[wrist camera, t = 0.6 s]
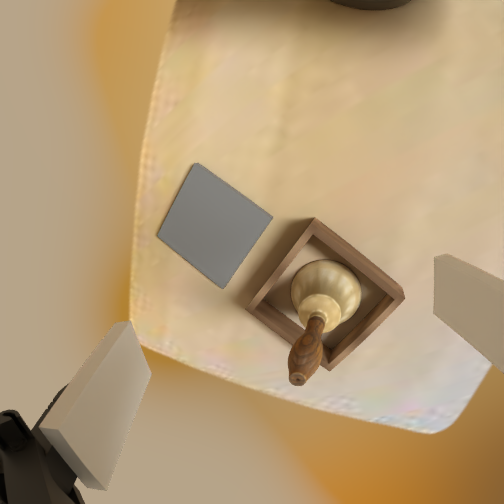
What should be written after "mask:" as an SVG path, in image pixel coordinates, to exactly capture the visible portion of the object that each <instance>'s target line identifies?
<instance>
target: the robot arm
mask: <svg viewBox="0 0 504 504" xmlns="http://www.w3.org/2000/svg"><path fill="white" fill-rule="evenodd" d="M331 1H333V2H336V3H338V4H341V5H344V6H348V7H352V8H358V9H365V10H384V9H391V8H395V7H399V6H401V5H404V4H406V3H408V2H410V1H411V0H331ZM433 314H435V315H436V316H437V317H438V318H440V319H441V320H442V321H443V322H444V323H446V324H447V325H448V326H449V327H450V328H452V329H453V330H454V331H455V332H456V333H458V334H459V335H460V336H461V337H462V338H464V339H465V340H466V341H467V342H468V343H469V344H471V345H472V346H473V347H474V348H475V349H476V350H478V351H479V352H480V353H481V354H482V355H483V356H484V357H486V358H487V359H488V360H489V361H490V362H491V363H492V364H493V365H495V366H496V367H497V368H498V369H499V370H500V371H501V372H502V373H504V281H503V280H501V279H499V278H497V277H495V276H493V275H491V274H489V273H487V272H485V271H483V270H481V269H479V268H477V267H475V266H473V265H471V264H469V263H466V262H464V261H462V260H460V259H458V258H456V257H453V256H451V255H449V254H444V255H440V256H436V257H434V310H433ZM151 375H152V373H151V371H150V369H149V366H148V364H147V361H146V359H145V357H144V354H143V352H142V349H141V347H140V344H139V341H138V339H137V336H136V334H135V331H134V328H133V326H132V323H131V321H124V322H118V323H115V324H114V325H113V326H112V328H111V329H110V330H109V331H108V333H107V334H106V336H105V337H104V338H103V339H102V340H101V342H100V343H99V344H98V346H97V347H96V348H95V350H94V351H93V352H92V353H91V355H90V356H89V358H88V359H87V360H86V361H85V363H84V364H83V365H82V367H81V368H80V369H79V371H78V372H77V373H76V375H75V376H74V378H73V379H72V380H71V382H70V383H69V384H67V385H66V386H65V387H64V388H63V389H61V390H60V391H59V392H58V393H57V395H56V396H55V398H54V399H53V402H51V403H50V405H49V406H48V409H46V410H45V412H44V413H43V414H42V416H41V417H40V419H39V420H38V421H37V423H36V424H35V426H34V427H33V429H32V430H30V429H29V428H28V426H27V425H26V423H25V422H24V421H23V419H22V417H21V416H20V414H19V413H18V412H17V411H15V410H6V411H2V412H1V413H0V504H85V502H84V500H83V498H82V496H81V494H80V491H79V490H78V489H77V487H76V486H75V485H74V483H75V481H76V478H77V477H78V478H79V479H80V480H81V482H82V483H83V484H84V485H85V486H86V487H87V488H92V489H98V490H105V491H107V489H108V486H109V483H110V480H111V478H112V474H113V472H114V469H115V467H116V464H117V461H118V459H119V456H120V453H121V451H122V448H123V445H124V443H125V440H126V437H127V434H128V432H129V430H130V427H131V425H132V422H133V419H134V417H135V414H136V412H137V409H138V407H139V404H140V402H141V399H142V397H143V394H144V392H145V389H146V387H147V385H148V382H149V380H150V377H151Z"/></svg>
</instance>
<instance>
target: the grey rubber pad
mask: <svg viewBox="0 0 504 504" xmlns="http://www.w3.org/2000/svg"><path fill="white" fill-rule="evenodd" d="M272 218H273V217H272V216H271V215H270V214H268V213H267V212H266V211H264V210H263V209H262V208H260V207H259V206H258V205H256V204H255V203H254V202H252V201H251V200H249V199H248V198H247V197H245V196H244V195H243V194H241V193H240V192H238V191H237V190H236V189H234V188H233V187H231V186H230V185H229V184H227V183H226V182H224V181H223V180H222V179H220V178H219V177H217V176H216V175H215V174H213V173H212V172H210V171H209V170H208V169H206V168H205V167H203V166H202V165H200V164H199V163H195V164H194V165H193V167H192V169H191V171H190V173H189V175H188V176H187V178H186V180H185V182H184V184H183V186H182V188H181V190H180V191H179V193H178V195H177V197H176V199H175V201H174V203H173V205H172V207H171V209H170V211H169V213H168V215H167V217H166V219H165V221H164V223H163V225H162V227H161V229H160V231H159V233H158V235H157V236H158V237H159V238H160V239H161V240H163V241H164V242H165V243H166V244H167V245H169V246H170V247H171V248H172V249H173V250H175V251H176V252H177V253H178V254H179V255H181V256H182V257H183V258H184V259H186V260H187V261H188V262H189V263H191V264H192V265H193V266H194V267H195V268H197V269H198V270H199V271H200V272H202V273H203V274H204V275H205V276H207V277H208V278H209V279H210V280H212V281H213V282H214V283H215V284H217V285H218V286H219V287H220V288H222V289H223V288H224V287H225V286H226V285H227V283H228V282H229V280H230V279H231V278H232V276H233V275H234V273H235V272H236V270H237V269H238V267H239V266H240V265H241V263H242V262H243V260H244V259H245V257H246V256H247V254H248V253H249V252H250V250H251V249H252V247H253V246H254V244H255V243H256V241H257V240H258V239H259V237H260V236H261V234H262V233H263V231H264V230H265V229H266V227H267V226H268V224H269V223H270V221H271V220H272Z"/></svg>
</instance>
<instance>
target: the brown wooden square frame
mask: <svg viewBox="0 0 504 504" xmlns="http://www.w3.org/2000/svg"><path fill="white" fill-rule="evenodd" d="M312 234H313V235H314V236H316V237H317V238H318V239H320V240H321V241H322V242H324V243H325V244H326V245H327V246H329V247H330V248H331V249H333V250H334V251H335V252H336V253H338V254H339V255H340V256H342V257H343V258H344V259H345V260H347V261H348V262H349V263H350V264H352V265H353V266H354V267H355V268H357V269H358V270H359V271H360V272H362V273H363V274H364V275H365V276H367V277H368V278H369V279H370V280H372V281H373V282H374V283H375V284H376V285H378V286H379V287H380V288H381V289H383V290H384V291H385V292H386V293H387V295H386V296H385V297H384V298H383V299H382V300H381V301H380V303H379V304H378V305H377V306H376V307H375V308H374V309H373V310H372V311H371V312H370V313H369V314H368V315H367V316H366V317H365V318H364V319H363V320H362V321H361V322H360V323H359V324H358V325H357V326H356V327H355V328H354V329H353V330H352V331H351V332H350V333H349V334H348V335H347V336H346V337H345V338H344V339H343V340H342V341H341V342H340V343H339V344H338V345H337V346H336V347H335V348H334V349H333V350H331V349H330V348H328V347H327V346H325V345H324V344H323V343H322V346H323V353H322V359H321V362H320V365H321V366H322V367H324V368H325V369H327V370H328V371H331V370H332V369H333V368H334V367H335V366H336V365H338V364H339V363H340V362H341V361H342V360H343V359H344V358H345V357H347V356H348V355H349V354H350V353H351V352H352V351H353V350H354V349H355V348H356V347H357V346H359V345H360V344H361V343H362V342H363V341H364V340H365V339H366V338H367V337H368V336H369V335H370V334H371V333H372V332H373V331H374V330H375V329H376V328H377V327H378V326H379V325H380V324H381V323H382V322H383V321H384V320H385V319H386V318H387V317H388V316H389V315H390V314H391V313H392V312H393V311H394V310H395V309H396V308H397V307H398V306H399V305H400V304H401V303H402V302H403V301H404V299H405V296H404V292H403V289H402V287H401V286H400V285H399V284H398V283H396V282H395V281H394V280H393V279H392V278H390V277H389V276H388V275H387V274H386V273H384V272H383V271H382V270H381V269H380V268H378V267H377V266H376V265H375V264H374V263H372V262H371V261H370V260H369V259H367V258H366V257H365V256H364V255H362V254H361V253H360V252H359V251H357V250H356V249H355V248H354V247H352V246H351V245H350V244H349V243H347V242H346V241H345V240H344V239H342V238H341V237H340V236H338V235H337V234H336V233H335V232H333V231H332V230H331V229H329V228H328V227H327V226H326V225H324V224H323V223H322V222H320V221H319V220H318V219H316V218H314V220H313V221H312V222H311V224H310V225H309V226H308V228H307V229H306V230H305V232H304V233H303V234H302V236H301V237H300V238H299V240H298V241H297V242H296V244H295V245H294V246H293V248H292V249H291V250H290V252H289V253H288V254H287V256H286V257H285V258H284V260H283V261H282V262H281V263H280V265H279V266H278V267H277V269H276V270H275V271H274V273H273V274H272V275H271V277H270V278H269V279H268V280H267V282H266V283H265V284H264V286H263V287H262V288H261V290H260V291H259V292H258V293H257V295H256V296H255V297H254V299H253V300H252V301H251V302H250V304H249V305H248V306H247V308H246V310H247V311H248V312H250V313H251V314H252V315H253V316H255V317H256V318H257V319H259V320H260V321H261V322H263V323H264V324H265V325H267V326H268V327H269V328H271V329H272V330H273V331H275V332H276V333H277V334H279V335H280V336H281V337H283V338H284V339H285V340H287V341H288V342H289V343H291V344H292V345H294V343H295V342H296V340H297V339H298V338H299V337H300V336H301V335H303V334H304V332H305V330H304V329H303V328H301V327H300V326H299V325H297V324H296V323H295V322H293V321H292V320H291V319H289V318H288V317H287V316H285V315H284V314H283V313H281V312H280V311H279V310H277V309H276V308H275V307H273V306H272V305H271V304H269V303H268V302H267V301H266V300H264V299H263V297H264V296H265V295H266V294H267V292H268V291H269V290H270V289H271V287H272V286H273V285H274V284H275V282H276V281H277V280H278V279H279V277H280V276H281V275H282V273H283V272H284V271H285V270H286V268H287V267H288V266H289V264H290V263H291V262H292V261H293V259H294V258H295V257H296V255H297V254H298V253H299V251H300V250H301V249H302V248H303V246H304V245H305V244H306V242H307V241H308V240H309V238H310V237H311V236H312Z"/></svg>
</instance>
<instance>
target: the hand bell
mask: <svg viewBox="0 0 504 504" xmlns="http://www.w3.org/2000/svg"><path fill="white" fill-rule="evenodd" d="M361 296H362V293H361V286H360V283H359V281H358V278H357V277H356V275H355V274H354V273H353V272H352V271H351V270H350V269H349V268H348V267H346V266H345V265H343V264H341V263H339V262H336V261H332V260H318V261H314V262H311V263H309V264H307V265H305V266H304V267H302V268H301V269H300V270H299V271H298V273H297V274H296V275H295V277H294V279H293V281H292V285H291V299H292V302H293V305H294V307H295V309H296V310H297V312H298V315H299V319H300V321H301V323H302V324H303V326H304V327H305V328H306V330H305V332H304V334H303V335H301V336H300V337H299V338H298V339H297V340H296V342H295V343H294V345H293V347H292V348H291V351H290V354H289V357H288V369H289V381H290V382H291V384H293V385H294V386H302V385H304V384H305V383H306V381H307V380H308V379H309V378H310V377H311V376H312V375H313V374H314V373H315V371H316V370H317V369H318V367H319V365H320V362H321V359H322V353H323V346H322V341H321V335H322V333H326V332H329V331H331V330H333V329H334V328H335V327H336V326H337V325H338V324H341V323H343V322H345V321H347V320H348V319H350V318H351V317H352V316H353V315H354V314H355V312H356V311H357V309H358V307H359V305H360V302H361Z"/></svg>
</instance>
